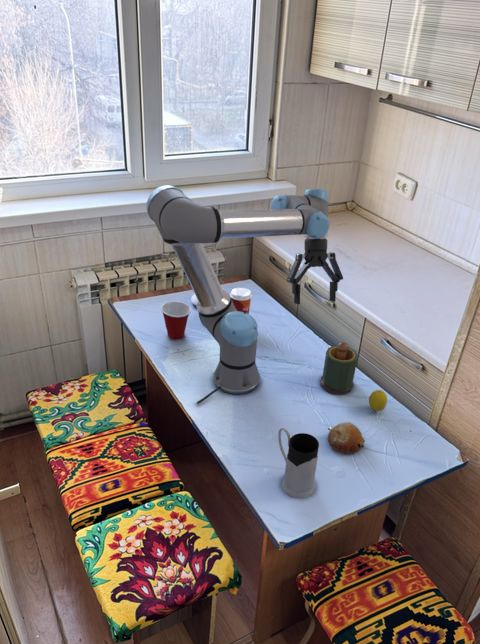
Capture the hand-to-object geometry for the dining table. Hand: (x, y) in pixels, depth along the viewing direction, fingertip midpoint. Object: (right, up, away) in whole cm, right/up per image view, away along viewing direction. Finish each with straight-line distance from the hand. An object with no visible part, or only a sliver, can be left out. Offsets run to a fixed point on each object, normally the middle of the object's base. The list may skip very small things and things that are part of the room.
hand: (315, 302), depth 189 cm
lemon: (+18, -35, -11) cm, 41 cm away
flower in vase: (-42, +3, +40) cm, 58 cm away
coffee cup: (-27, -7, +28) cm, 39 cm away
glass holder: (-10, -51, -37) cm, 64 cm away
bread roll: (+7, -43, -24) cm, 50 cm away
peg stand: (+7, -28, 0) cm, 29 cm away
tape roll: (+7, -26, -1) cm, 27 cm away
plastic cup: (-49, -11, +19) cm, 54 cm away
